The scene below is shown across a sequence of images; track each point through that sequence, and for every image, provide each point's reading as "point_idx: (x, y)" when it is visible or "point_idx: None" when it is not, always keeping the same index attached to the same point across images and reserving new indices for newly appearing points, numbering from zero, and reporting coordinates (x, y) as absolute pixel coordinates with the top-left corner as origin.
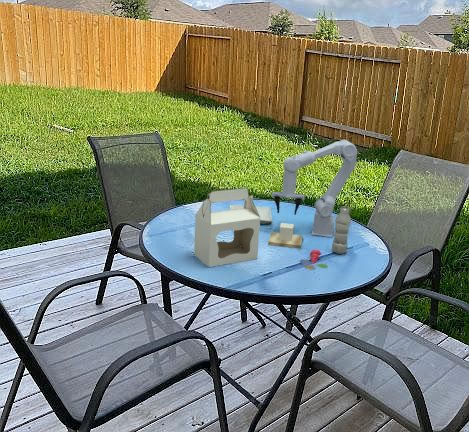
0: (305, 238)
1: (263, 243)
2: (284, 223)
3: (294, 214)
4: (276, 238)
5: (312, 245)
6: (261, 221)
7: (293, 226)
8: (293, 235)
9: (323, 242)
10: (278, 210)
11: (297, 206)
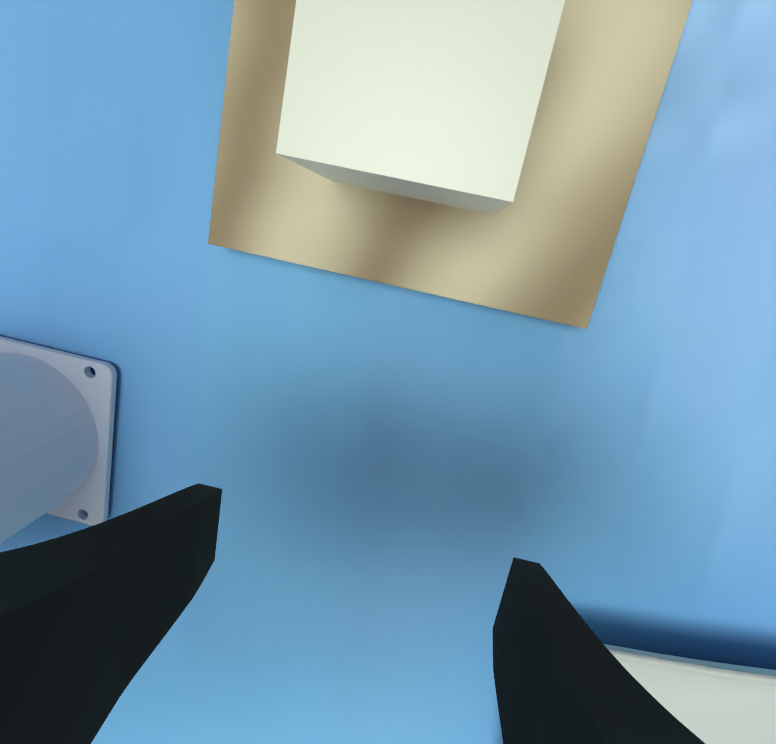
0: (189, 262)
1: (747, 8)
2: (451, 174)
3: (216, 488)
4: (562, 89)
5: (123, 39)
6: (648, 653)
7: (294, 25)
8: (316, 240)
9: (6, 160)
10: (539, 586)
11: (41, 556)
